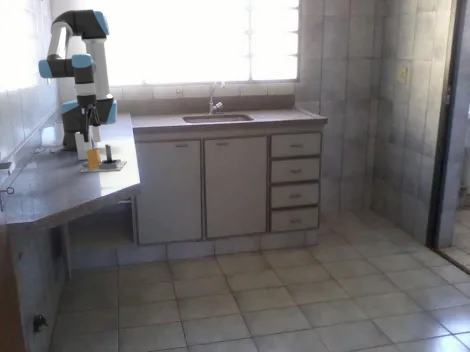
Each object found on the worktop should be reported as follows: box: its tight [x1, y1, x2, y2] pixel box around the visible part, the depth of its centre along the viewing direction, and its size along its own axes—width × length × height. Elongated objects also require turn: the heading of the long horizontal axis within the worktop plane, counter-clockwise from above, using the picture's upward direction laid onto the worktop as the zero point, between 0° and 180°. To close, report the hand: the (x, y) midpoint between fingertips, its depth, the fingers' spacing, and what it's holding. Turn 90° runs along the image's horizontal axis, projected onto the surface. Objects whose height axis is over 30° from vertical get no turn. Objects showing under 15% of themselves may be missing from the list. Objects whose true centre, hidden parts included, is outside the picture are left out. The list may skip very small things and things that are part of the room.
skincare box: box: [75, 130, 93, 161], centre depth 219 cm, size 6×4×12 cm
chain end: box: [81, 148, 121, 168], centre depth 203 cm, size 15×7×7 cm, turn 90°
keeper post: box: [80, 143, 128, 173], centre depth 203 cm, size 13×16×9 cm
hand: (92, 145), depth 202 cm, fingers open, 13 cm apart
